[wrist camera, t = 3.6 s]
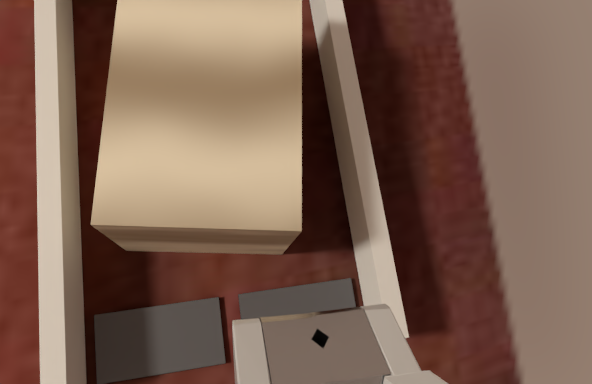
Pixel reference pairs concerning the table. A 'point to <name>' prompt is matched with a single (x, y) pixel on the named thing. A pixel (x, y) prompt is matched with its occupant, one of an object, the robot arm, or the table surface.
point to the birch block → (202, 127)
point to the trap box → (201, 313)
